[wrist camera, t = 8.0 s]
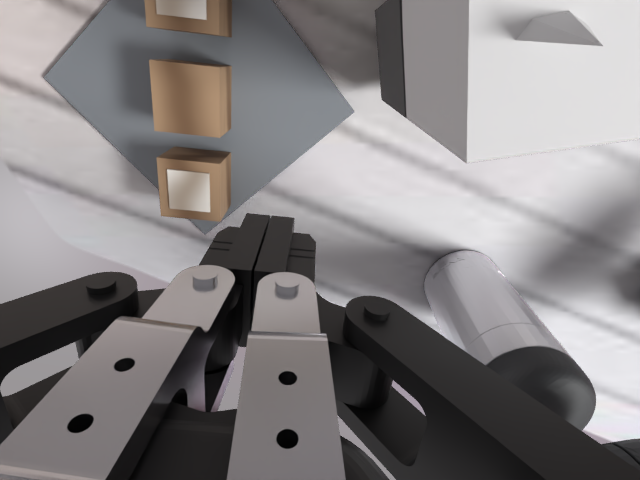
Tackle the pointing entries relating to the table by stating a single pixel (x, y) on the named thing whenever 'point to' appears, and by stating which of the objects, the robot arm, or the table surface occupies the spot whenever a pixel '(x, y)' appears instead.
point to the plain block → (191, 97)
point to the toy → (513, 72)
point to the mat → (246, 90)
